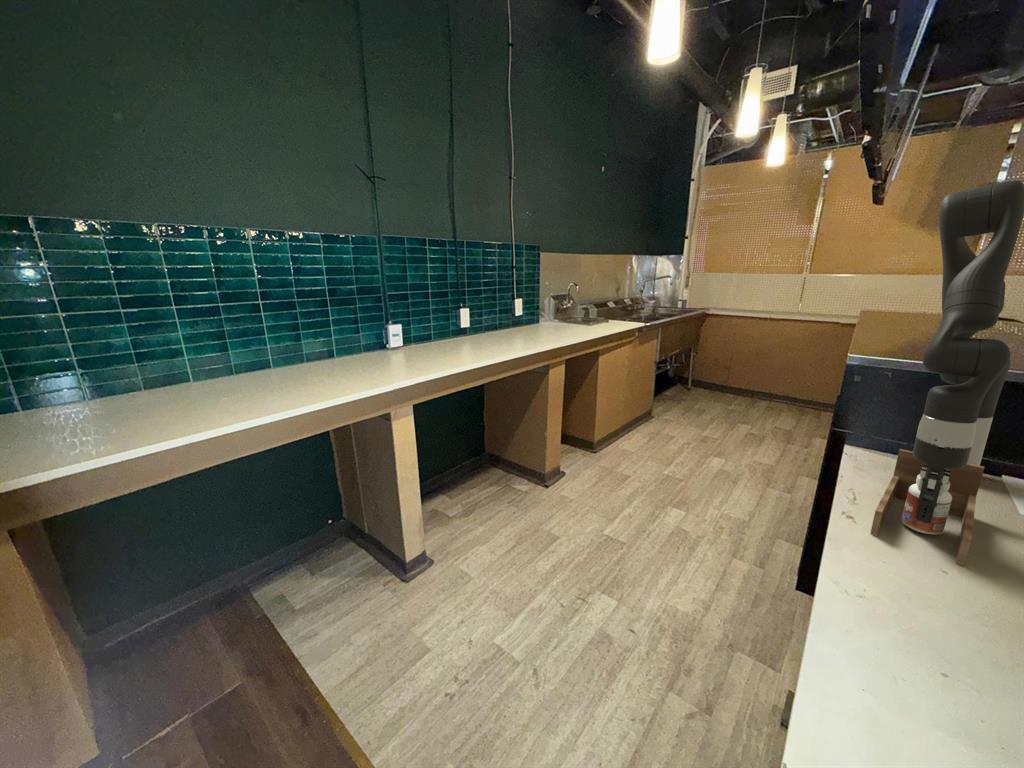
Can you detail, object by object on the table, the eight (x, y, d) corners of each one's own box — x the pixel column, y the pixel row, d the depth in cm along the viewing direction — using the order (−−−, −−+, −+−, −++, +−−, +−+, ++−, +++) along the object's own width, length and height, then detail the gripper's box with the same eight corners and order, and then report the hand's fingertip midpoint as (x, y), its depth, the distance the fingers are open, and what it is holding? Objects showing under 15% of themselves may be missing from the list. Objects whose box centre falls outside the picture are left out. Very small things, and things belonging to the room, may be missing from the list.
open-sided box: (889, 494, 96) (899, 448, 93) (970, 516, 86) (984, 466, 83) (870, 533, 82) (881, 481, 79) (963, 566, 72) (980, 508, 69)
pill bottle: (900, 514, 87) (911, 469, 84) (941, 525, 83) (954, 477, 80) (901, 528, 83) (912, 480, 80) (944, 540, 78) (957, 490, 76)
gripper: (921, 424, 85) (904, 494, 89) (911, 444, 76) (894, 520, 80) (974, 434, 79) (954, 507, 83) (970, 455, 70) (948, 537, 75)
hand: (924, 513), depth 82 cm, fingers closed on pill bottle, 6 cm apart
